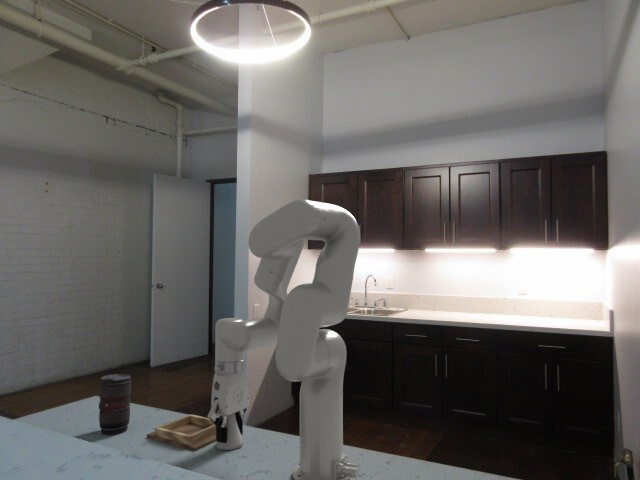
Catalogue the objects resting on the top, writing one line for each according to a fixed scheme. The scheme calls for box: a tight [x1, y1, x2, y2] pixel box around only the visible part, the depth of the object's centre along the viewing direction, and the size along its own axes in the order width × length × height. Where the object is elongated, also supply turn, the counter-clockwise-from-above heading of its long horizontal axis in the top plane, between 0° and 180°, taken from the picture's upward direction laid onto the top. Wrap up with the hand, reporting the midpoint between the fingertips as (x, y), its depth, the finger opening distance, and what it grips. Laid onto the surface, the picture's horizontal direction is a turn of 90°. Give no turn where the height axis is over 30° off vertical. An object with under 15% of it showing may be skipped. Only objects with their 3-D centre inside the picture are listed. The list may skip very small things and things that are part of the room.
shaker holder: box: [146, 413, 217, 452], centre depth 125 cm, size 18×14×3 cm
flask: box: [214, 413, 245, 451], centre depth 118 cm, size 7×7×10 cm
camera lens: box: [98, 373, 132, 436], centre depth 129 cm, size 8×8×15 cm
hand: (229, 437), depth 118 cm, fingers closed on flask, 5 cm apart
